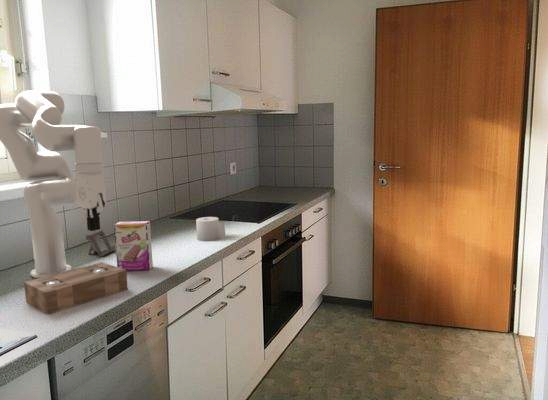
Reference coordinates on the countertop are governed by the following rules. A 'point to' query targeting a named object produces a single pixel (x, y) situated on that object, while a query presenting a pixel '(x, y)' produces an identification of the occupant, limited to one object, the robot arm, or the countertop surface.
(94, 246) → the portable electronic device stand
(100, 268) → the back peg
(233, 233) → the countertop surface
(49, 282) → the front peg
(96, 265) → the walnut block
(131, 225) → the candy bar box
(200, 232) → the toilet tissue
